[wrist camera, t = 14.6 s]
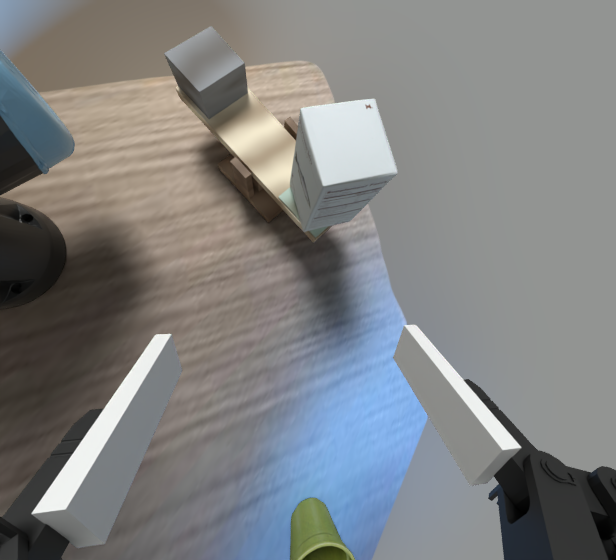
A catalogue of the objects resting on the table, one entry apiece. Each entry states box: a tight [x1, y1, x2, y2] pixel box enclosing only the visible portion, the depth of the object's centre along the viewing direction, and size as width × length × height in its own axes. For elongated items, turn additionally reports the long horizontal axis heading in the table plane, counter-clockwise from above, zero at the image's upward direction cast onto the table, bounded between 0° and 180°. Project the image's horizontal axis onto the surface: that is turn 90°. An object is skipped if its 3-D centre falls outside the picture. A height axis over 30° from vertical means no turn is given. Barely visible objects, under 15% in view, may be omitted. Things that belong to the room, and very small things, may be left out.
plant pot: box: [290, 498, 355, 560], centre depth 31 cm, size 9×9×9 cm
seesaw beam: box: [165, 26, 333, 243], centre depth 30 cm, size 28×8×6 cm, turn 43°
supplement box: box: [290, 99, 397, 232], centre depth 25 cm, size 7×7×13 cm
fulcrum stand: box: [218, 117, 298, 223], centre depth 35 cm, size 12×11×8 cm
